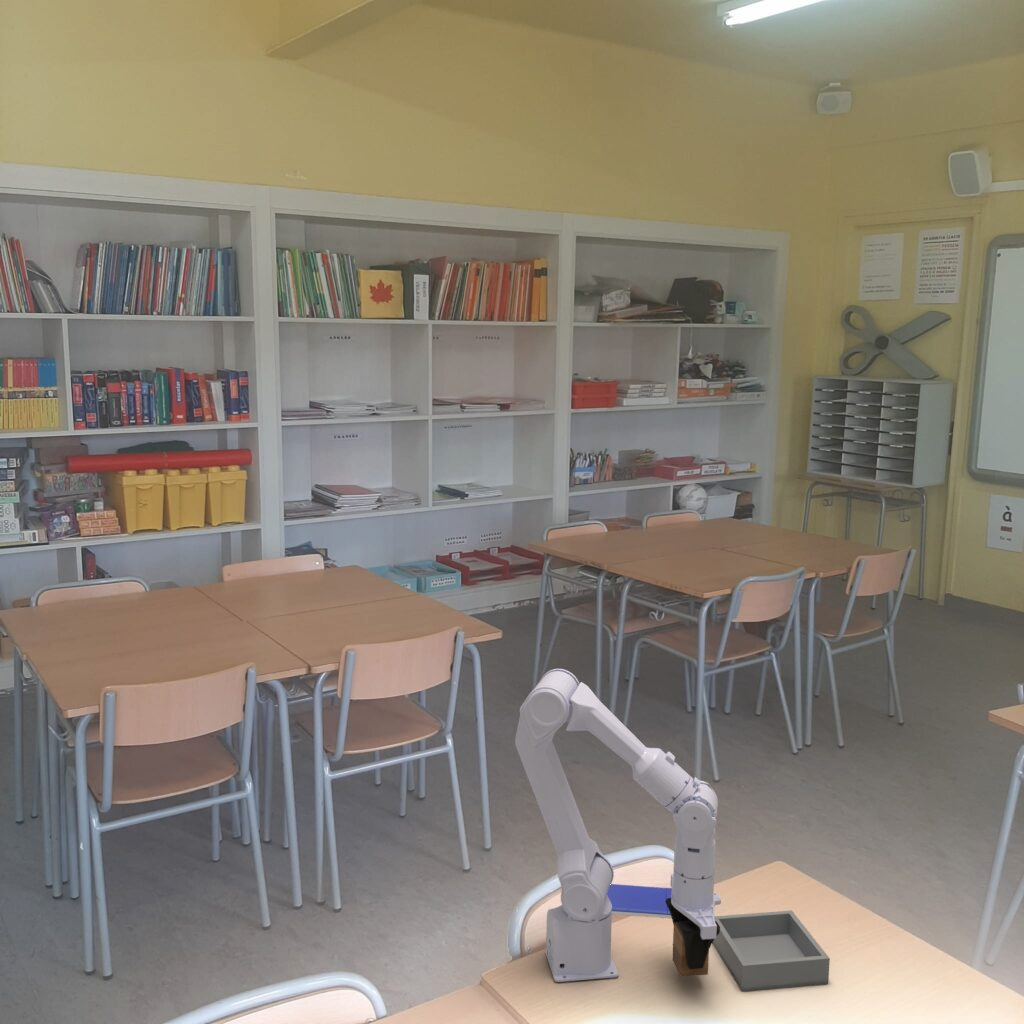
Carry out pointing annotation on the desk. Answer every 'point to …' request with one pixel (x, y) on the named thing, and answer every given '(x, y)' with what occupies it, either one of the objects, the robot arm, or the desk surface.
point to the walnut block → (684, 955)
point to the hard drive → (639, 900)
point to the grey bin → (770, 951)
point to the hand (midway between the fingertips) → (690, 958)
